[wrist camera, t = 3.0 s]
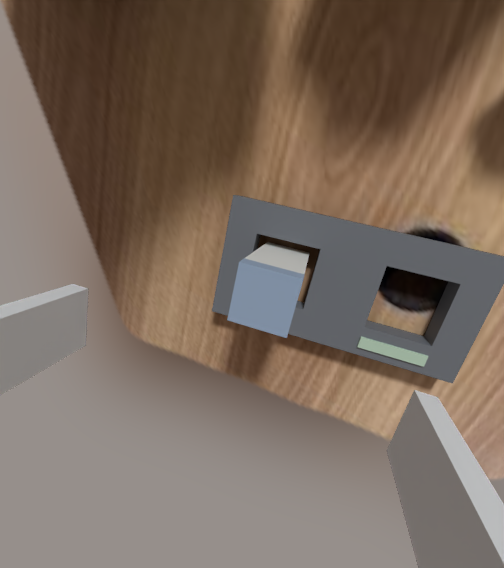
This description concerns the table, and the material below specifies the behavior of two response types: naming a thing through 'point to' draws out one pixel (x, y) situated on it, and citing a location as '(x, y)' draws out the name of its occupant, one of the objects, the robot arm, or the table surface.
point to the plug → (268, 288)
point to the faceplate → (368, 285)
